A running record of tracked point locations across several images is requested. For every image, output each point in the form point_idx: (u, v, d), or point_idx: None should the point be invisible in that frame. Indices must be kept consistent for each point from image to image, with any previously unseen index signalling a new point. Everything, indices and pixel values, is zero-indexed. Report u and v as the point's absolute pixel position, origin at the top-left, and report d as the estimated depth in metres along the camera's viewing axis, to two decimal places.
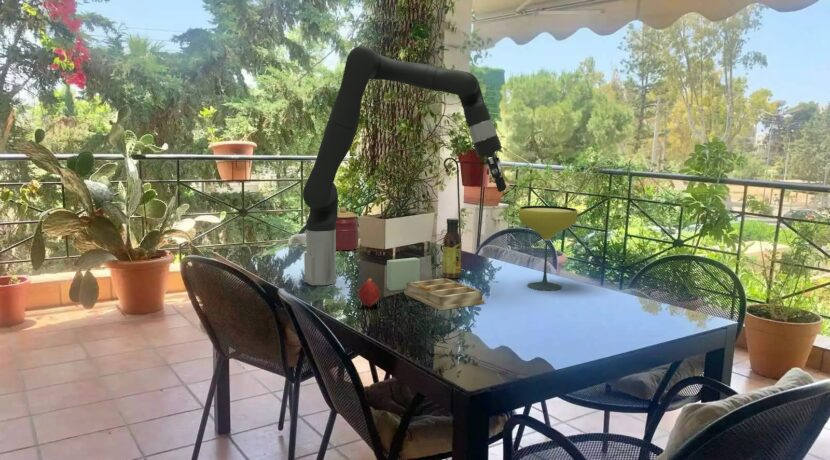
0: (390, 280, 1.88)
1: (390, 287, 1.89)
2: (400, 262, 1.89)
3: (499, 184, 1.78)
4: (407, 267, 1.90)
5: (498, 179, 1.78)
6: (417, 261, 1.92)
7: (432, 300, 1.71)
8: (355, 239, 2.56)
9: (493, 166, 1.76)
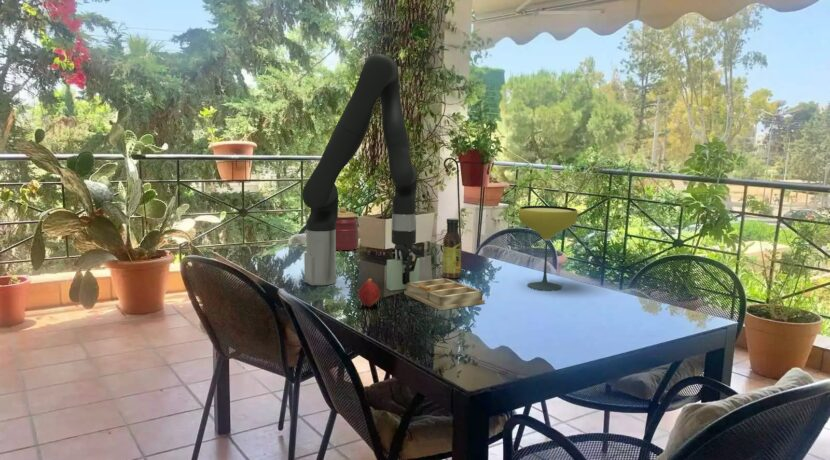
0: (390, 280, 1.88)
1: (390, 287, 1.89)
2: (400, 262, 1.89)
3: (407, 278, 1.89)
4: None
5: (407, 273, 1.89)
6: (417, 261, 1.92)
7: (432, 300, 1.71)
8: (355, 239, 2.56)
9: (412, 263, 1.86)
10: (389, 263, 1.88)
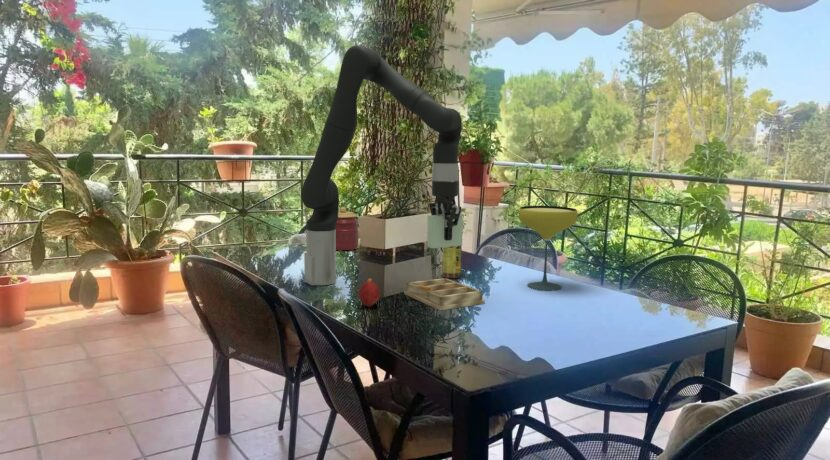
0: (432, 237, 1.74)
1: (432, 244, 1.74)
2: (442, 217, 1.74)
3: (449, 233, 1.75)
4: None
5: (450, 228, 1.75)
6: (460, 217, 1.77)
7: (432, 300, 1.71)
8: (355, 239, 2.56)
9: (456, 216, 1.72)
10: (430, 218, 1.74)
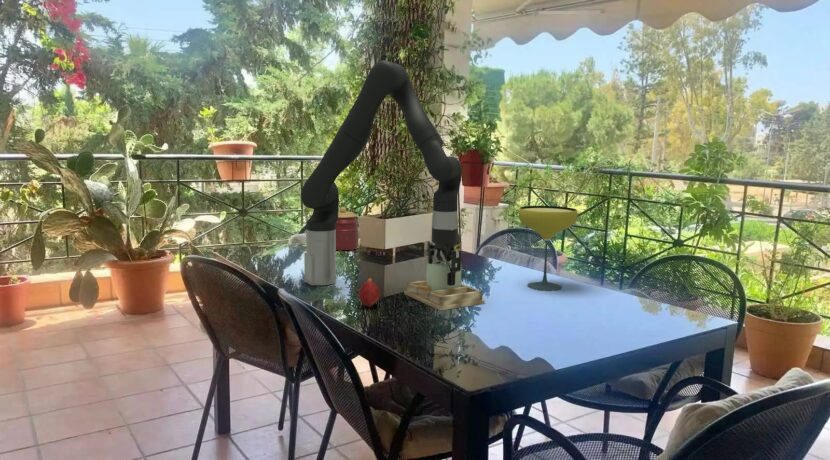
0: (430, 286, 1.76)
1: None
2: (441, 267, 1.76)
3: (452, 278, 1.74)
4: None
5: (453, 273, 1.74)
6: None
7: (432, 300, 1.71)
8: (355, 239, 2.56)
9: (457, 260, 1.72)
10: (429, 268, 1.76)
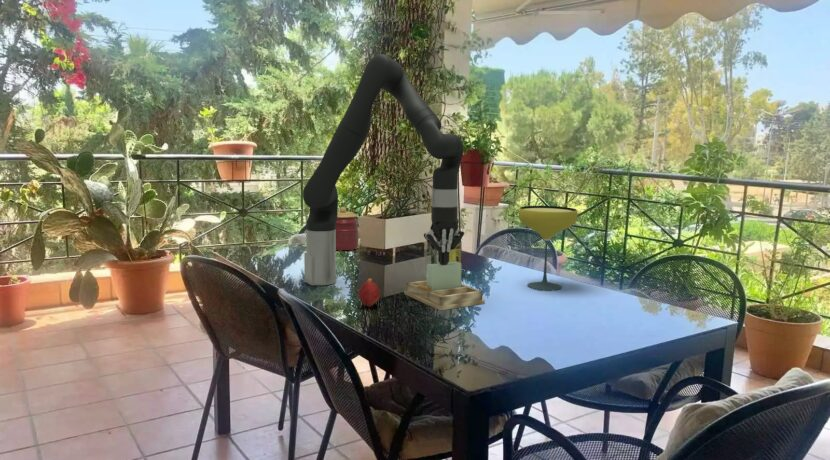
0: (430, 286, 1.76)
1: None
2: (441, 267, 1.76)
3: (439, 257, 1.77)
4: (448, 272, 1.78)
5: (439, 252, 1.76)
6: (459, 266, 1.79)
7: (432, 300, 1.71)
8: (355, 239, 2.56)
9: (430, 242, 1.74)
10: (429, 268, 1.76)
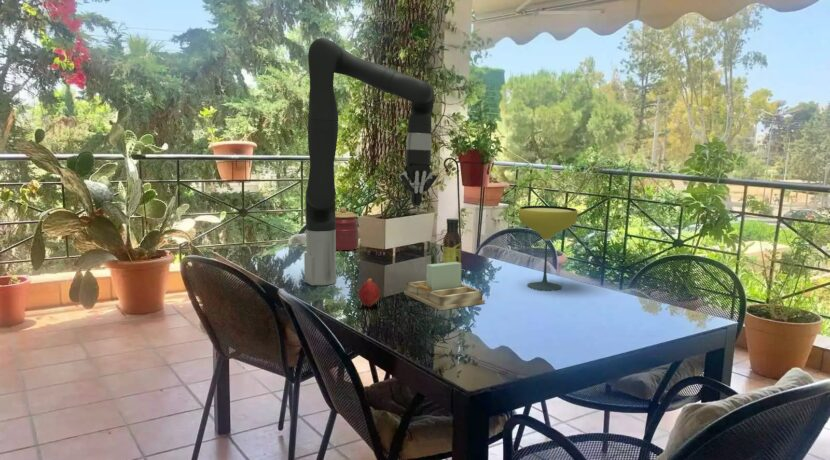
0: (430, 286, 1.76)
1: None
2: (441, 267, 1.76)
3: (412, 198, 1.88)
4: (448, 272, 1.78)
5: (412, 193, 1.88)
6: (459, 266, 1.79)
7: (432, 300, 1.71)
8: (355, 239, 2.56)
9: (403, 183, 1.86)
10: (429, 268, 1.76)
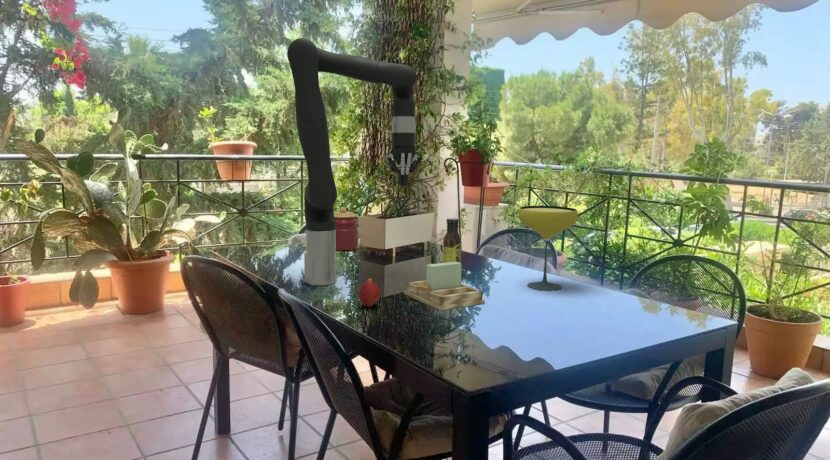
0: (430, 286, 1.76)
1: None
2: (441, 267, 1.76)
3: (399, 179, 1.96)
4: (448, 272, 1.78)
5: (399, 175, 1.95)
6: (459, 266, 1.79)
7: (432, 300, 1.71)
8: (355, 239, 2.56)
9: (390, 165, 1.93)
10: (429, 268, 1.76)
